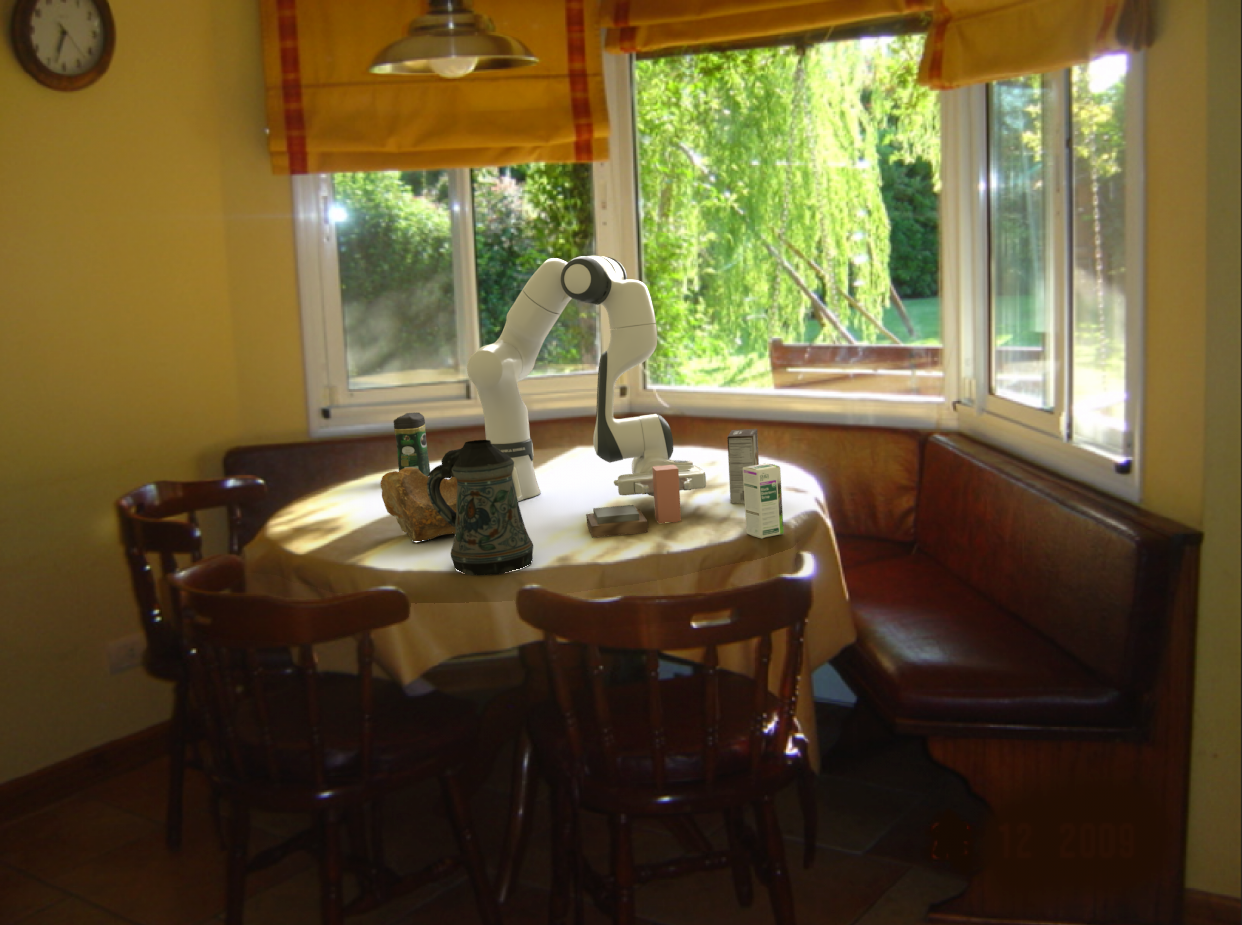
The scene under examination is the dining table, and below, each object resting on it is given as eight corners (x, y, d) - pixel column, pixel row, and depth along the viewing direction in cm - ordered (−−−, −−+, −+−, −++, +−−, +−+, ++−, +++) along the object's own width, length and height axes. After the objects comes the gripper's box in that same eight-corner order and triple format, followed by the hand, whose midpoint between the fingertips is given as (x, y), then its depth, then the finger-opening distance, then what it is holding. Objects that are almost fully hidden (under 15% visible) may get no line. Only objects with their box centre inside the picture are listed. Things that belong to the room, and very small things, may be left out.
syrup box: (761, 539, 244) (758, 469, 242) (745, 533, 249) (742, 465, 247) (784, 534, 247) (781, 465, 244) (767, 529, 252) (764, 462, 249)
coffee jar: (407, 475, 338) (400, 411, 335) (433, 475, 337) (427, 410, 334) (395, 483, 329) (388, 416, 325) (422, 482, 328) (416, 415, 324)
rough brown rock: (374, 553, 257) (368, 486, 253) (387, 528, 273) (382, 465, 269) (482, 549, 257) (478, 483, 253) (488, 524, 273) (485, 462, 269)
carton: (658, 523, 263) (655, 470, 261) (655, 518, 268) (652, 466, 266) (681, 521, 263) (678, 468, 261) (677, 516, 268) (674, 464, 266)
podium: (592, 537, 254) (591, 519, 253) (586, 524, 266) (585, 507, 265) (648, 532, 256) (646, 514, 255) (639, 520, 267) (638, 502, 267)
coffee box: (734, 495, 287) (731, 429, 284) (760, 494, 285) (757, 428, 282) (729, 503, 278) (726, 435, 275) (757, 503, 277) (754, 435, 274)
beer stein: (542, 569, 232) (532, 443, 228) (443, 583, 227) (431, 454, 222) (524, 549, 248) (515, 431, 243) (431, 562, 243) (420, 441, 238)
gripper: (611, 467, 276) (619, 478, 263) (698, 460, 279) (710, 470, 265) (613, 494, 278) (621, 506, 264) (699, 486, 280) (711, 498, 267)
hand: (666, 488), depth 265 cm, fingers open, 8 cm apart
